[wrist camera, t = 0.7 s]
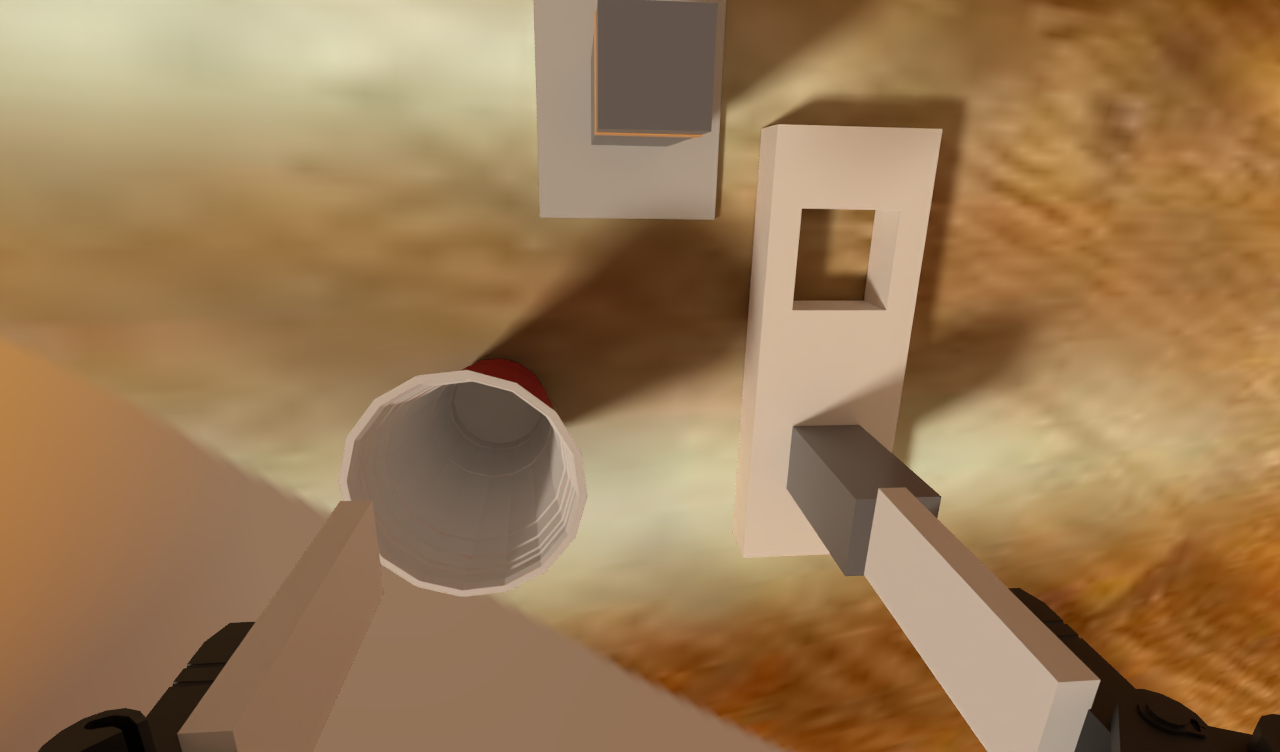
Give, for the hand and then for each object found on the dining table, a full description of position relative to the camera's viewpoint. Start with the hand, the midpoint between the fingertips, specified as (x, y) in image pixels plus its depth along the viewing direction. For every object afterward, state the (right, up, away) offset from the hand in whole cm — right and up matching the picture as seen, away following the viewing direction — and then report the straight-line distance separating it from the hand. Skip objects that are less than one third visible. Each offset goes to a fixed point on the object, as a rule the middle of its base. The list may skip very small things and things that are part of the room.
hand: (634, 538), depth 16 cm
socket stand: (+11, +6, +23) cm, 26 cm away
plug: (0, +19, +17) cm, 26 cm away
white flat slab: (0, +19, +18) cm, 26 cm away
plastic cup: (-9, +3, +22) cm, 24 cm away
